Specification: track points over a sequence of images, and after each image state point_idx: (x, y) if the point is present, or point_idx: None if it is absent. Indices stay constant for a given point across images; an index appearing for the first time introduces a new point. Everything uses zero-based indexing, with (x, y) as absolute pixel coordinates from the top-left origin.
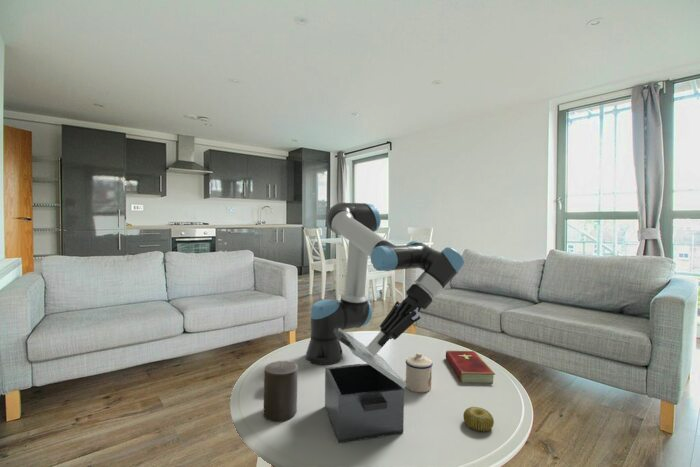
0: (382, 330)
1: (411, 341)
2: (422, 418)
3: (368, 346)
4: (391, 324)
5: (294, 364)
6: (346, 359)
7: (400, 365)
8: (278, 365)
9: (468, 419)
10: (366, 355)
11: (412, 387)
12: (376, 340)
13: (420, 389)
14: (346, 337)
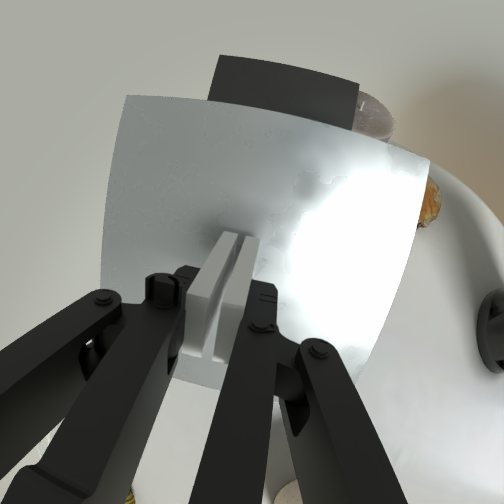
0: (241, 321)
1: None
2: (177, 427)
3: (245, 241)
4: (145, 367)
5: (371, 134)
6: (484, 378)
7: (413, 496)
8: (369, 109)
9: (128, 494)
10: (143, 172)
11: (296, 482)
12: (208, 257)
13: (279, 494)
14: (283, 112)
